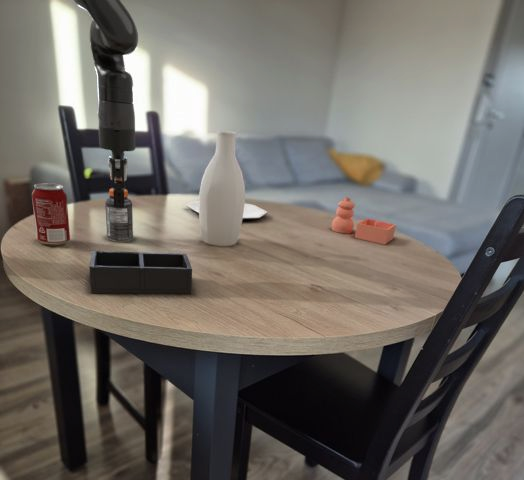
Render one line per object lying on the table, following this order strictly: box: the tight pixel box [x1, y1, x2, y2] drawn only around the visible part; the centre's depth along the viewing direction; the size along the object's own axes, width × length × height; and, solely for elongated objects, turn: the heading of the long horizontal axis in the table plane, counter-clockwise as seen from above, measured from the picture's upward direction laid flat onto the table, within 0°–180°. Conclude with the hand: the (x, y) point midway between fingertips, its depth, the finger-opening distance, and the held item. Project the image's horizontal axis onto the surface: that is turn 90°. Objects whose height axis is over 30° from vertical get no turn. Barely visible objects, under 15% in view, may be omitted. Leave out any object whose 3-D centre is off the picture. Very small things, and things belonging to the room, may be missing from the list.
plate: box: [186, 199, 268, 220], centre depth 150 cm, size 24×24×2 cm
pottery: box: [331, 196, 397, 245], centre depth 142 cm, size 18×10×10 cm, turn 62°
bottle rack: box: [88, 250, 193, 295], centre depth 89 cm, size 17×9×5 cm, turn 104°
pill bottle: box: [105, 187, 134, 243], centre depth 111 cm, size 6×6×11 cm
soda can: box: [31, 182, 71, 247], centre depth 103 cm, size 7×7×12 cm
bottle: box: [198, 129, 246, 247], centre depth 115 cm, size 11×11×25 cm
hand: (119, 203), depth 110 cm, fingers open, 8 cm apart
